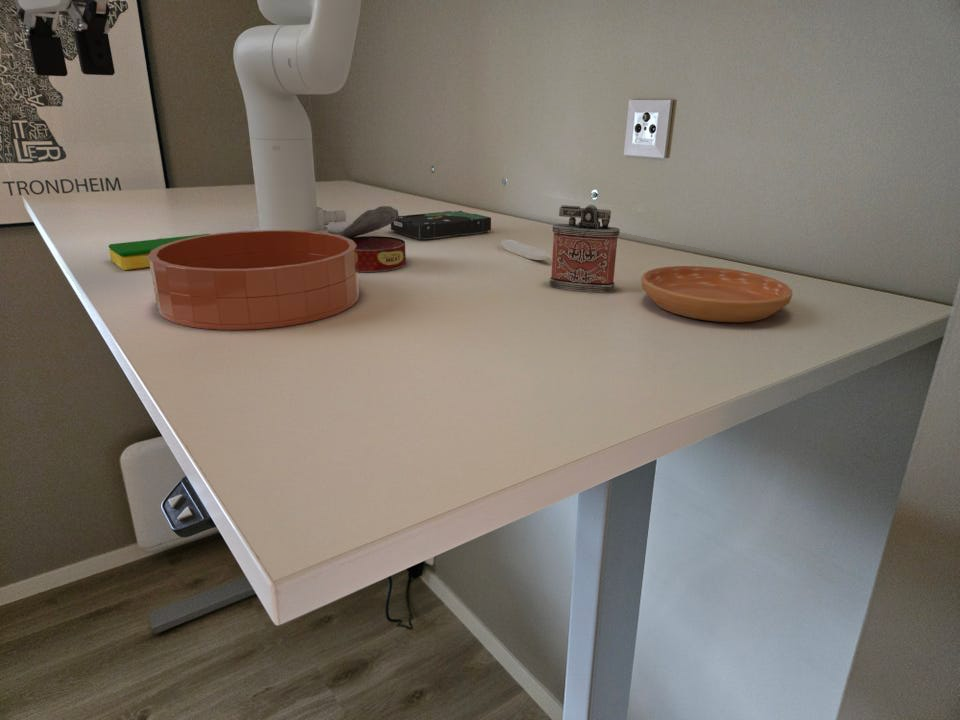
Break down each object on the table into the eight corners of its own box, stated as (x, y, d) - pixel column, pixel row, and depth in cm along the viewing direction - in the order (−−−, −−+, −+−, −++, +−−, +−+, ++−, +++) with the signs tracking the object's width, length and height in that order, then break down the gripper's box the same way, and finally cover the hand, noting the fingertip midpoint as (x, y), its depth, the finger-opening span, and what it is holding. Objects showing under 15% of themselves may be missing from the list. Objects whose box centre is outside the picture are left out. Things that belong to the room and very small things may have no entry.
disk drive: (420, 242, 107) (492, 232, 115) (420, 225, 106) (492, 216, 114) (389, 232, 114) (458, 223, 123) (388, 216, 113) (458, 208, 122)
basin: (319, 268, 88) (315, 224, 86) (390, 308, 71) (388, 254, 69) (143, 291, 77) (134, 240, 75) (180, 344, 60) (170, 281, 58)
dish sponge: (228, 257, 94) (226, 240, 93) (123, 271, 86) (120, 252, 85) (211, 249, 99) (209, 233, 98) (111, 261, 91) (107, 244, 90)
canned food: (353, 305, 88) (313, 243, 83) (351, 278, 97) (314, 221, 92) (426, 265, 88) (390, 200, 83) (417, 242, 97) (384, 183, 92)
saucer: (738, 286, 82) (742, 263, 81) (820, 325, 68) (826, 298, 67) (618, 290, 80) (620, 266, 79) (676, 332, 65) (680, 303, 64)
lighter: (615, 287, 81) (623, 205, 77) (611, 294, 78) (619, 209, 75) (552, 281, 84) (557, 201, 80) (546, 287, 81) (550, 205, 77)
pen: (545, 266, 91) (546, 254, 91) (498, 247, 103) (498, 237, 102) (554, 265, 92) (555, 253, 91) (507, 246, 103) (507, 236, 103)
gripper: (122, -119, 62) (153, 75, 69) (35, -93, 71) (70, 77, 78) (37, -142, 57) (80, 73, 63) (-46, -111, 65) (-1, 75, 72)
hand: (74, 75), depth 70 cm, fingers open, 9 cm apart
